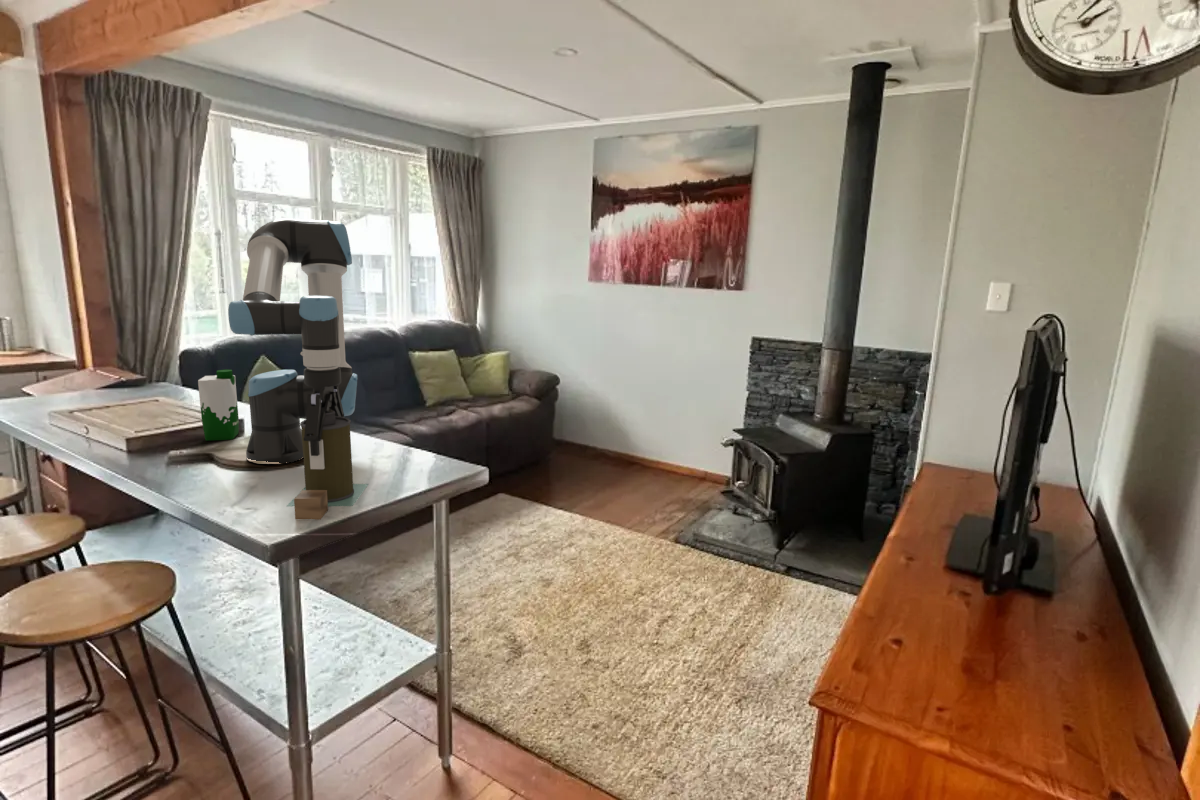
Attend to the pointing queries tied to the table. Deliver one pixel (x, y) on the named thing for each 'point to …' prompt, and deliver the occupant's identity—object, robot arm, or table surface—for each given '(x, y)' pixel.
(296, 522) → the table surface
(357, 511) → the table surface
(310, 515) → the block
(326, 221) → the robot arm
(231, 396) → the milk carton
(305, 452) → the canister
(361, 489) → the letter card
